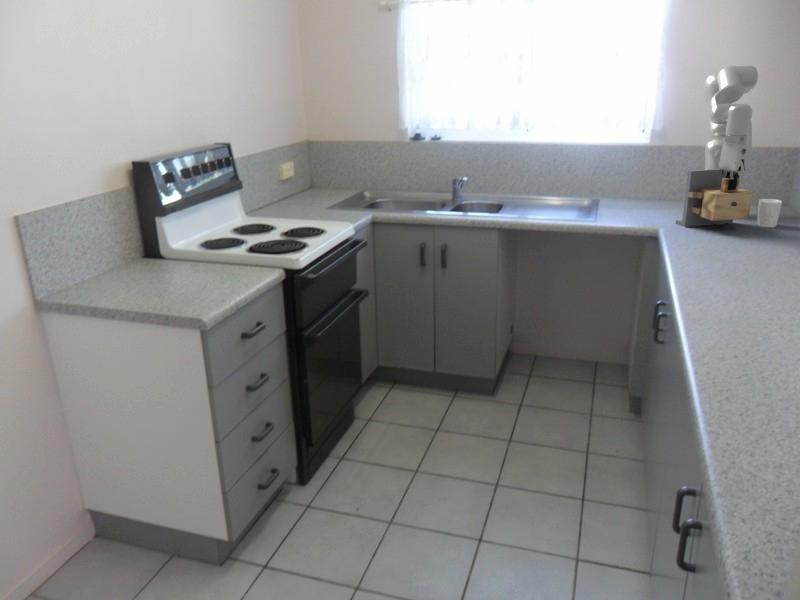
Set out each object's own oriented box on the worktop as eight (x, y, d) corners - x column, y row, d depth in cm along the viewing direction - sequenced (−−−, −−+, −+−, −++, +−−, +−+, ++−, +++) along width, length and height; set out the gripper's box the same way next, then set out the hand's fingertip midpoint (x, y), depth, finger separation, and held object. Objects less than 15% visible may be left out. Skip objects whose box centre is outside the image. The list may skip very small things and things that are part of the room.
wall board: (675, 223, 267) (681, 169, 260) (722, 220, 271) (730, 166, 264) (691, 229, 257) (698, 172, 250) (740, 225, 262) (748, 169, 255)
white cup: (755, 227, 259) (759, 201, 256) (755, 222, 265) (759, 198, 262) (777, 228, 255) (782, 203, 252) (777, 224, 262) (781, 199, 259)
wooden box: (693, 213, 260) (699, 175, 254) (728, 211, 263) (734, 173, 258) (714, 221, 249) (720, 181, 243) (750, 218, 252) (757, 179, 247)
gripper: (760, 141, 238) (752, 192, 244) (729, 137, 253) (723, 185, 259) (742, 141, 236) (735, 193, 242) (712, 138, 251) (706, 186, 257)
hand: (729, 188), depth 250 cm, fingers closed on wooden box
